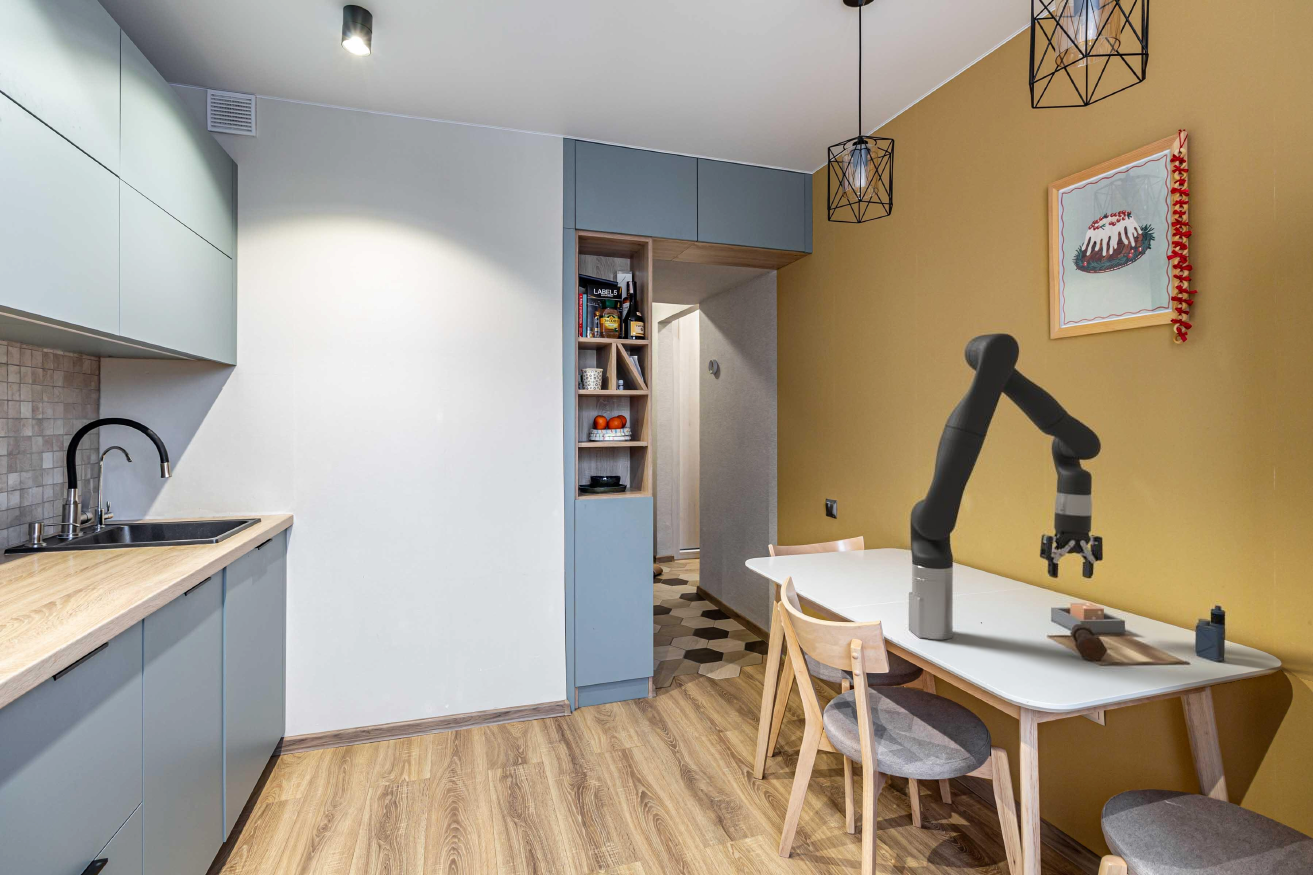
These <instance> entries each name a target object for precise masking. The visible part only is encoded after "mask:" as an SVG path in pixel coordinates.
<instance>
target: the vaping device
mask: <svg viewBox="0 0 1313 875" xmlns="http://www.w3.org/2000/svg"><path fill="white" fill-rule="evenodd" d="M1225 615H1226V611H1225V610H1223V609H1222V606H1221V605H1217V604H1215V605H1214V608H1210V620H1209V619H1207V618H1198V622H1197V623H1196V625H1195V641H1194V642H1195V647H1194V648H1195V650H1194V651H1195V653H1196V656H1197V657H1200V658H1202V657H1203V658H1202V659H1205V658H1206V660H1208V659H1209V660H1208V661H1212V660H1213V661H1212V662H1215V661H1217V662H1216V663H1223V662H1225V655H1226V654H1225V653H1226V652H1225V643H1226V642H1225V641H1226V616H1225ZM1222 661H1223V662H1222Z"/></svg>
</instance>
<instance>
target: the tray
mask: <svg viewBox="0 0 1313 875" xmlns="http://www.w3.org/2000/svg"><path fill="white" fill-rule="evenodd" d="M1050 622H1052V623H1054V624H1056V625H1059V626H1061V627H1062V628H1064V629H1067V630H1069V631H1070V632H1071V631H1072V628H1073V627H1074V625H1076V624H1080V625H1085V626H1089V627H1090V628H1091V630H1092V631H1093V633H1094V634H1095V635H1101V634H1126V620H1125V619H1122V618H1120V617H1118V616H1115V615H1113V614H1110V613H1108V612H1105V611H1104V620H1081V619H1079V618H1077V617H1074V616H1072V615H1070V606H1069V607H1051V608H1050Z"/></svg>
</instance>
